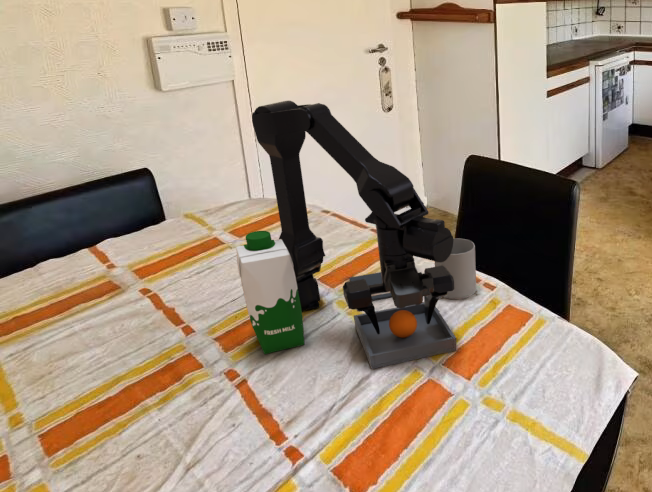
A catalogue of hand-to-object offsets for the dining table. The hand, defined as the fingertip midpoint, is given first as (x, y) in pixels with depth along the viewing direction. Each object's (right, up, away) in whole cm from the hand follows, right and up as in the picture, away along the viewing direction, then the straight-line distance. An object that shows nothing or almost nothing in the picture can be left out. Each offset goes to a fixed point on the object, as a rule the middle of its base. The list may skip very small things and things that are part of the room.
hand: (403, 328), depth 113 cm
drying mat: (-7, +9, +20) cm, 23 cm away
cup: (+8, +7, +18) cm, 21 cm away
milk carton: (-22, -2, 0) cm, 23 cm away
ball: (0, +1, 0) cm, 1 cm away
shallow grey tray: (0, -2, +1) cm, 2 cm away
